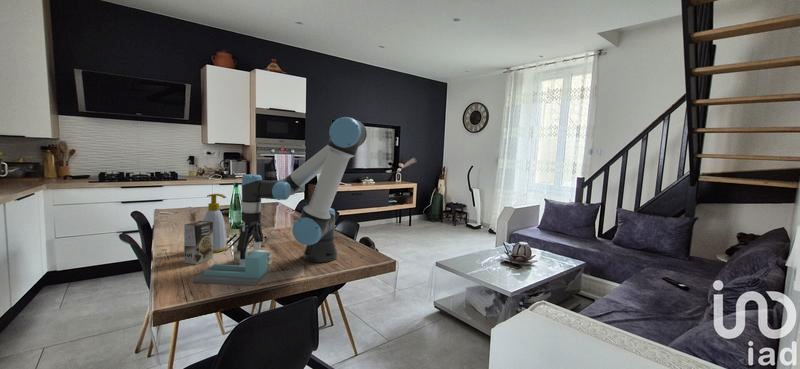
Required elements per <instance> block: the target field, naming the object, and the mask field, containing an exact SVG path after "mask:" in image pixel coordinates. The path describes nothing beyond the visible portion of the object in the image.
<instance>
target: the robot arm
mask: <svg viewBox="0 0 800 369" xmlns="http://www.w3.org/2000/svg"><path fill="white" fill-rule="evenodd" d="M328 132H329V140H328V142H327V145H325V146H324V147H323V148H321V149H320V150H319V151H317V153H316V154H314V155H312V157H310V158H309V159H308V160H306V161H305V162H303V163H302V164H301V165H300V166H298V167H297V168H296V169H295V170H294V171H292V172H291V173H290V174H288V175H287V176H286V177H285V178H283V179H280V180H266V179H265V180H264V179H263V178H262V177H263V176H262V175H260V174H253V173H252V174H244V175H243V176H242V179H241V203H240V205H241V218H240V219H241V221H242V222H244V226H243V225H241V226H240V231H239V232H240V233H239V235H238V236H239V237H238V241H237V245H236V246H237V247H236V250H237V251H240V263H239V266H245V257H247V251H246V249H248V246H249V242H250V239H251V237H253V240H254V242H253V250H261V247H262V246H261V244H262V243H263V241H264V235H263V230H262V225H261V222H262V221H261V220H262V212H261V211H262V199H266V200H267V199H268V200H276V201H284V200H286V201H287V200H288V199H289V198H290V196H293V195H295V194H296V193H298V192H299V190H300V189H301V188H302V187H303V186H305V185H306V184H307V183H309V182H310V181H311V180H312V179H313V178H315V177H316V176H318V175H319V176H318V179H317V181H316V182H317V183H316V185H315V187H314V190H313V193H312V195H311V197H310V200H309V204H307V205H305V206H303V208H302V211H301V213H300V216H299V218H297V219H296V221H295V222H294V223H293V225H292V228H291V229H292V235H293V237H294V239H295V240H296V241H297V243H299V244H301V245H304V246H305V247H304V251H303V254H302V255H303V259H304V260H306V261H307V262H310V263H311V262H312V263H327V262H328V261H329V262H332V261H334V259H335V260H336V259H337V258H338V249H337V247H336V242H335V227H336V226H335V224H336V223H335V222H336V211H335V208H331V207H332V204H333V202H334V199H335V196H336V195H337V192H338V190H339V187H340V184H341V183H342V182H341V181H342V179H343V176H344V173H345V171H346V169H347V166H348V164H349V161H350V159H351V158H353V157H355V156H356V153H357V151H358V148H359V147H360V146H362V145H363V144H364V143H365V141H366V139H367V137H368V134H367V132H368V131H367V129H366V126H365V125H364V123H362V122H361V121H360V120H357V119H355V118H352V117H350V116H344V117H339V118H337V119H335V120H334V121H333V122H332V123H331V125H330V127H329V131H328ZM261 242H262V243H261Z"/></svg>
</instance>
